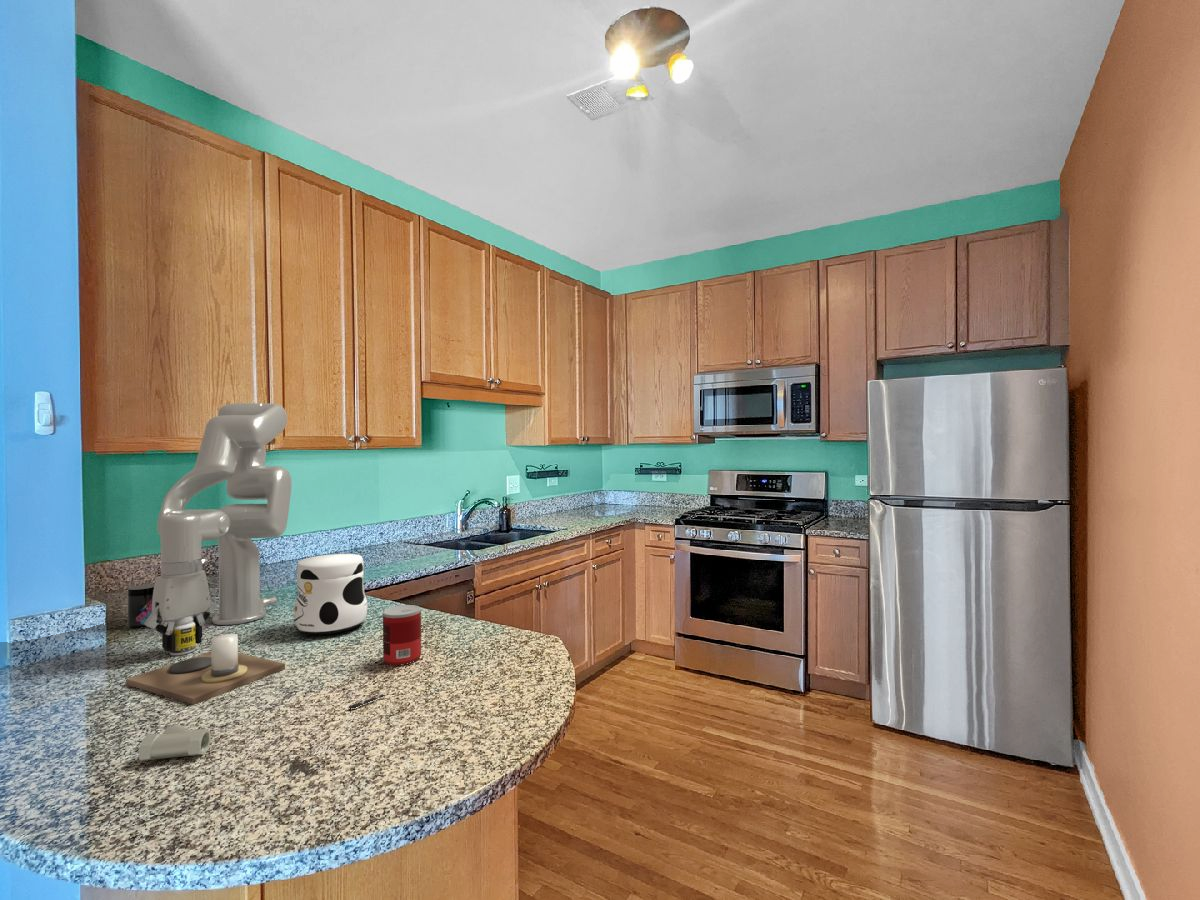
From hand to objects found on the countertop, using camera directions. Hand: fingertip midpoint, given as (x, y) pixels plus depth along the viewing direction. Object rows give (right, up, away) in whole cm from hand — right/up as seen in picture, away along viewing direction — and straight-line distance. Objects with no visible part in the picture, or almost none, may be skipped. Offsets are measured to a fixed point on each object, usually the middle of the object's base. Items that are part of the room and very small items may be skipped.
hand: (182, 645), depth 127 cm
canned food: (+53, -1, -6) cm, 53 cm away
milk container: (+26, -1, +16) cm, 31 cm away
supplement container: (-26, -2, +20) cm, 33 cm away
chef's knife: (+58, -2, -23) cm, 62 cm away
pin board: (+16, -1, -14) cm, 21 cm away
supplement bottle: (0, -2, 0) cm, 2 cm away
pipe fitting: (+31, -2, -42) cm, 53 cm away
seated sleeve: (+21, +1, -16) cm, 26 cm away
